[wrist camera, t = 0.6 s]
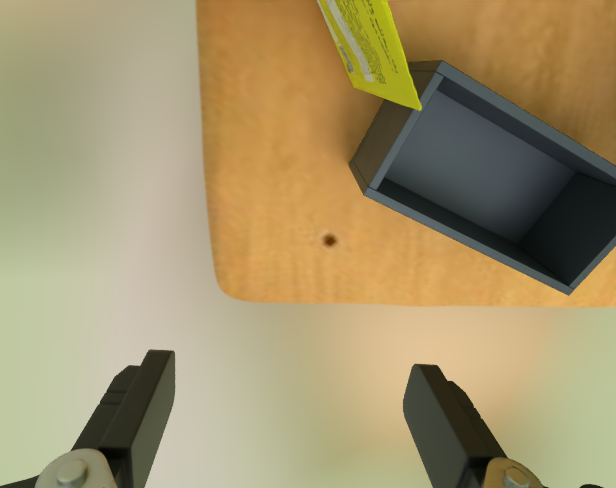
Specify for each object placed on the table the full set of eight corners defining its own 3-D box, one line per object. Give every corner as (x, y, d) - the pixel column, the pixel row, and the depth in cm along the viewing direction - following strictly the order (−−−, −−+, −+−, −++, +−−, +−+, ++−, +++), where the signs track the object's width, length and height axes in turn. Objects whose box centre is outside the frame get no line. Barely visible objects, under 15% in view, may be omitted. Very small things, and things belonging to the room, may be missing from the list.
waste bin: (404, 62, 31) (442, 59, 23) (580, 166, 35) (664, 195, 27) (348, 165, 35) (363, 195, 27) (512, 248, 39) (569, 295, 31)
